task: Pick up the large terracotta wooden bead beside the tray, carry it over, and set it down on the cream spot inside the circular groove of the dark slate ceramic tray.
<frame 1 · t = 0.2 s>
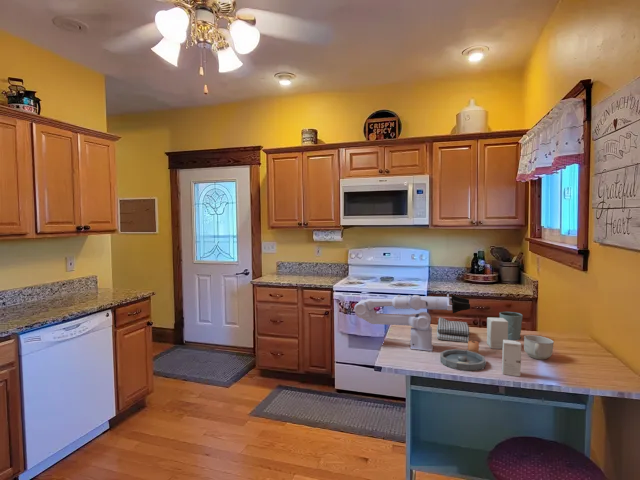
hand: (469, 304, 162), 21 cm above the countertop, tool horizontal, fingers open, 7 cm apart
bead: (473, 353, 162), on the countertop
towel: (452, 337, 186), on the countertop
supplement box: (497, 346, 170), on the countertop
teacup: (537, 358, 155), on the countertop
green plant pot: (510, 338, 183), on the countertop
skincare box: (511, 373, 140), on the countertop
groove tray: (462, 362, 151), on the countertop
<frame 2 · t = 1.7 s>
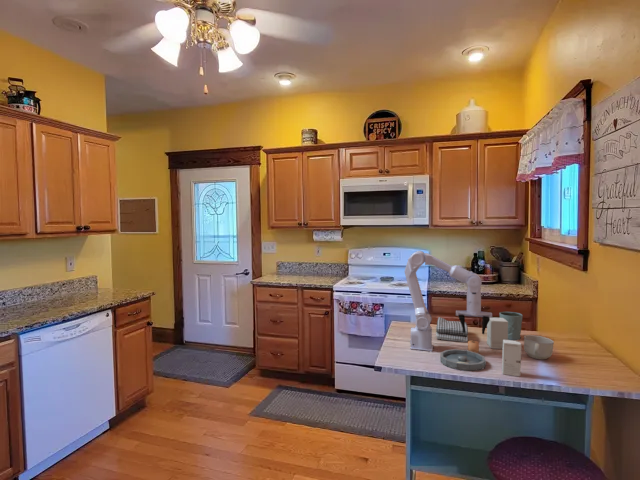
hand: (473, 332, 161), 9 cm above the countertop, tool pointing down, fingers open, 7 cm apart
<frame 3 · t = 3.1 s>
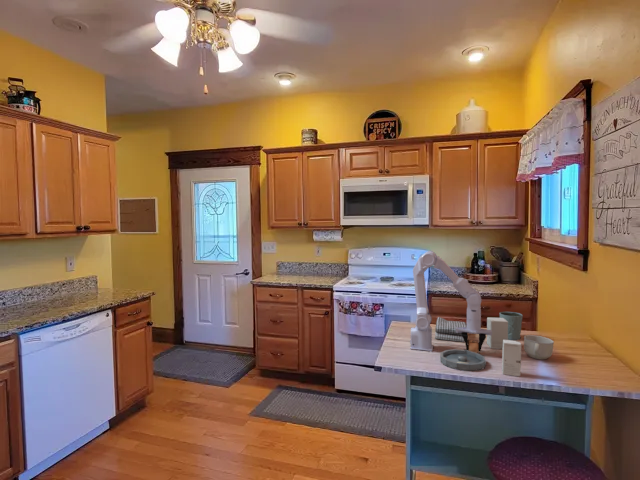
hand: (473, 350, 161), 1 cm above the countertop, tool pointing down, fingers closed on bead, 4 cm apart
bead: (473, 353, 162), on the countertop, touching gripper
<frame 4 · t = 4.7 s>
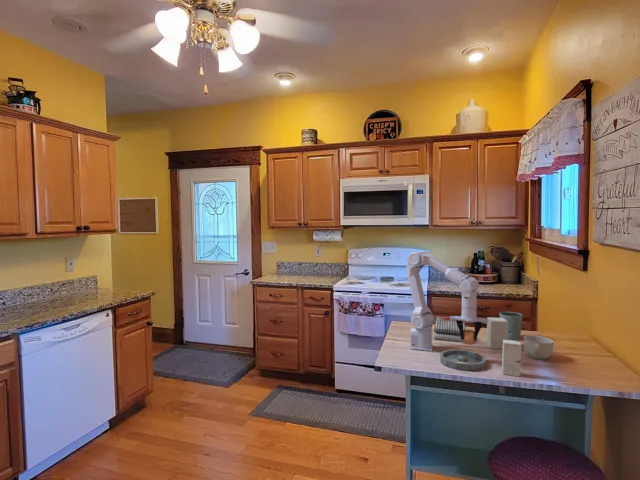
hand: (468, 339, 154), 8 cm above the countertop, tool pointing down, fingers closed on bead, 4 cm apart
bead: (468, 342, 154), point 7 cm above the countertop, touching gripper
when the fingers open (4 cm above the countertop, at t = 6.6 s): bead drops 1 cm, resting on groove tray.
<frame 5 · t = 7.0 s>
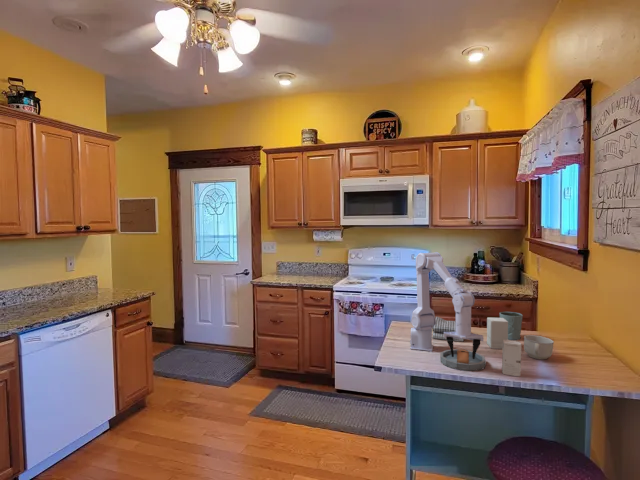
hand: (462, 357, 146), 4 cm above the countertop, tool pointing down, fingers open, 7 cm apart
bead: (462, 364, 146), point 1 cm above the countertop, touching groove tray
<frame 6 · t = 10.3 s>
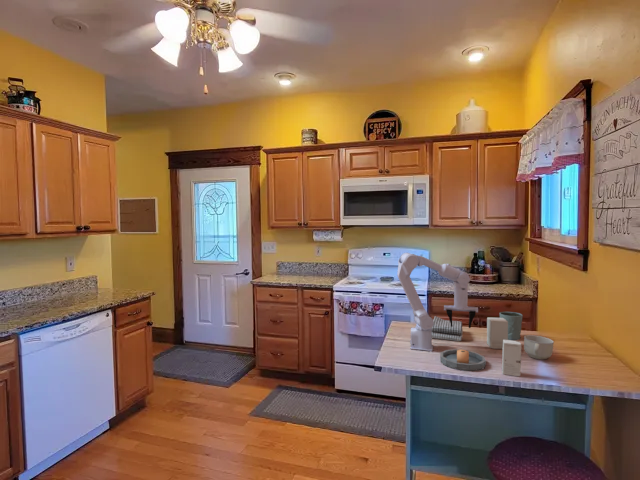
hand: (460, 326, 169), 9 cm above the countertop, tool pointing down, fingers open, 7 cm apart
at the end: bead 0.1 cm from the target spot on the groove tray, point 1.1 cm above the groove tray's base; bead tilted 0°; the gripper is holding nothing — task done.
